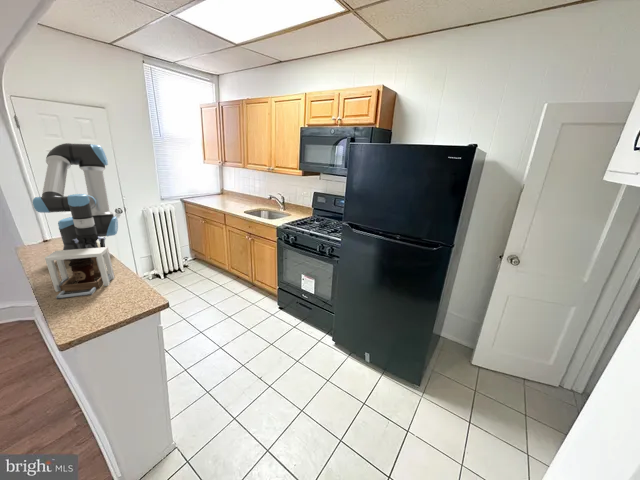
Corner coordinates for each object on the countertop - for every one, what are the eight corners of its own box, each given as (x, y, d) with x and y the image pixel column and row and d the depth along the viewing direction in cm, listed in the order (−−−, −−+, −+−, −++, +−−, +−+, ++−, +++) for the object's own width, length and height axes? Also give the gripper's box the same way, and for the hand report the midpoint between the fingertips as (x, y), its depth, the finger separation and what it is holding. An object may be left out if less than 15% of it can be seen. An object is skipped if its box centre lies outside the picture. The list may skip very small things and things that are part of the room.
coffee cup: (84, 289, 120) (77, 263, 116) (69, 287, 121) (62, 261, 117) (102, 281, 128) (96, 256, 124) (89, 279, 129) (82, 254, 125)
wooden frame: (81, 273, 134) (76, 255, 131) (113, 270, 139) (109, 252, 136) (61, 292, 116) (55, 271, 113) (99, 287, 121) (94, 268, 118)
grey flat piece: (62, 293, 116) (61, 290, 115) (96, 289, 120) (95, 287, 120) (56, 299, 111) (56, 296, 111) (91, 295, 116) (91, 292, 115)
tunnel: (65, 282, 125) (55, 250, 120) (114, 277, 132) (107, 246, 127) (55, 291, 117) (44, 257, 112) (108, 285, 124) (100, 253, 119)
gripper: (59, 229, 121) (72, 274, 129) (102, 227, 127) (112, 270, 134) (67, 225, 128) (79, 268, 135) (108, 223, 134) (117, 265, 141)
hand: (96, 269), depth 135 cm, fingers closed on wooden frame, 3 cm apart
